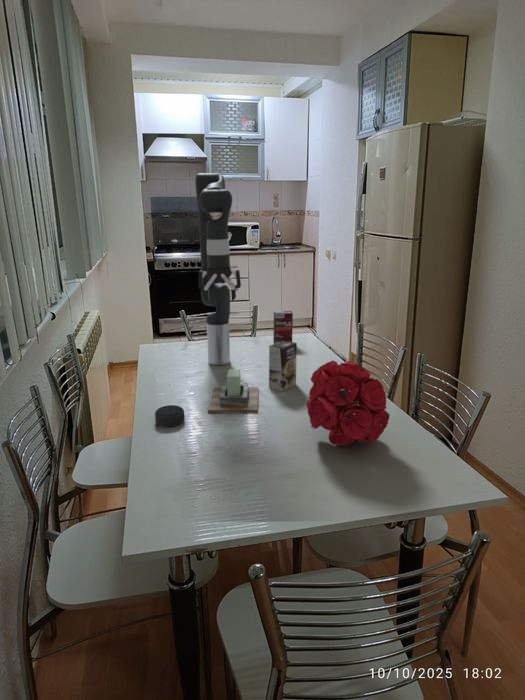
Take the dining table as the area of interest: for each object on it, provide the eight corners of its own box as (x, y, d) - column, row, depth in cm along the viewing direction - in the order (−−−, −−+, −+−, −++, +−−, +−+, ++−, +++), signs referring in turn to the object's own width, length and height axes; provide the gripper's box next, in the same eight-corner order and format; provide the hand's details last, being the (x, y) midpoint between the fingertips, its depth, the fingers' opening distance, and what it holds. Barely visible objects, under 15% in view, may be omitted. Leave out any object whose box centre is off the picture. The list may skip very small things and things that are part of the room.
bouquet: (292, 447, 144) (322, 444, 116) (289, 371, 150) (317, 349, 121) (359, 445, 148) (405, 441, 120) (354, 371, 154) (396, 350, 125)
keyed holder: (214, 389, 172) (213, 380, 171) (258, 389, 172) (258, 380, 171) (207, 412, 153) (207, 402, 152) (257, 412, 153) (257, 402, 152)
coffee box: (282, 391, 169) (283, 348, 164) (268, 387, 173) (268, 345, 168) (297, 384, 176) (297, 342, 171) (282, 380, 180) (282, 339, 175)
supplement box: (274, 346, 222) (274, 313, 218) (273, 343, 227) (273, 311, 222) (292, 345, 223) (293, 312, 218) (291, 343, 228) (291, 310, 223)
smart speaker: (169, 431, 141) (168, 418, 140) (149, 423, 146) (148, 411, 145) (190, 420, 148) (190, 408, 147) (171, 413, 153) (170, 402, 152)
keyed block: (227, 401, 159) (226, 376, 156) (229, 393, 165) (228, 369, 163) (239, 401, 159) (238, 376, 156) (240, 393, 165) (240, 369, 163)
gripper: (195, 254, 154) (198, 303, 159) (239, 253, 154) (240, 302, 159) (198, 251, 161) (201, 298, 166) (240, 251, 161) (241, 297, 167)
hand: (220, 300), depth 163 cm, fingers open, 8 cm apart
